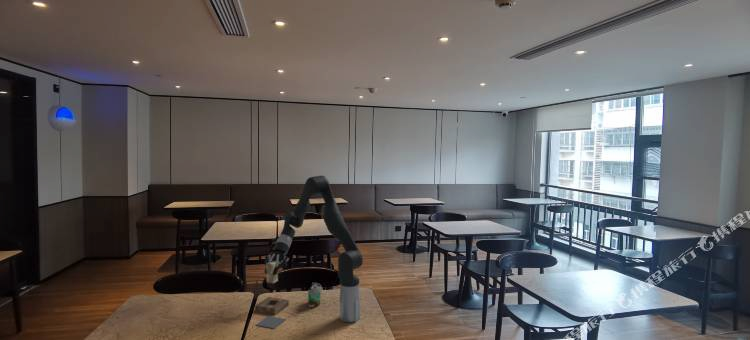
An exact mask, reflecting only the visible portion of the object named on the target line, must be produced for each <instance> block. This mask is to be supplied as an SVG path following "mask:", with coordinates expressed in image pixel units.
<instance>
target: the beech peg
mask: <svg viewBox="0 0 750 340" xmlns="http://www.w3.org/2000/svg"><path fill="white" fill-rule="evenodd" d="M276 264H277V262H275V261H270V262H268V263H266V265H265V269H266V271H267V274H265V276H266V283H268V284H275V283H276V282H279V273H278V272H277V274H276V275H273V274H272V273H273V271H274V268H275V267H276Z"/></svg>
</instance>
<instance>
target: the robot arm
mask: <svg viewBox="0 0 750 340" xmlns="http://www.w3.org/2000/svg"><path fill="white" fill-rule="evenodd" d="M319 194H321V196H322V198H323V202H324V208H323V214H322V215H323V216H322V217H323V218H322V219H323V221H324V225H325V226H326V228H327V230H328V232H329V233H330V234H331V235H332V236H333V237H334V238H335V239H336V240H338V241H339V242H340V244H341V245H342V247H343V249H344V251H343V252H341V253H340V254H339V256H338V259H337V270H338V279H339V320H340V321H341V322H344V323H356V322H358V321H359V319H361V306H362V305H361V301H362V300H361V298H360V278H359V277H358V276H357V275H354V270H356V269H358V268H361V267H362V265H363V254H361V251H360V248H359V246H357V244H356V242H355V240H354V239H353V237H352V235H351V232H350V231H349V229H348V227H347V223H346V222H345V220H344V217H343V214H342V213H341V211H340V208H339V207H338V204H337V201H336V199H335V196H334V194H333V191H332V188H331V185H330V182H329V180H328V178H327V177H326V176H325V175H316V176H311V177H308V178H307V179H306V180H305V183H304V185H303V188H302V191H301V194H300V197H299V199H298V201H297V202H296V204H295V206H294V207H293V209H292V211H289V212H287V213H286V214H285V216H284V223H283V228H282V229H281V230H282V231H281V232H280V235H279V236H278V238H277V240H276V242H275V245H274V246H273V249H272V252H271V253H270V254H268V253H267V254H265V256H264V261H263V262H264V265H265V266H266V263H268V262H270V261H275V262H277V264H276V267H275V268H274V271H273V273H272V274H273V275H276V274H277V272H278V271H279V270H280V269H284V268H285V266H286V265H287V263H288V262H290V258H289V257H288V256H286V255H287V254H288V252H289V249H290V247H291V244H292V241H293V239H294V237H295V235H296V230H295V229H299V228H301V227H302V226H303V224H304V219H305V216H306V214H307V212H309V209H310V207H311V201H310V199H311V197H312V196H314V195H319ZM264 274H265V275H266V274H267V271H266V268H265V269H264Z"/></svg>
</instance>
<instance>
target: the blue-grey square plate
mask: <svg viewBox="0 0 750 340" xmlns="http://www.w3.org/2000/svg"><path fill="white" fill-rule="evenodd" d="M286 321H287V319H286V318H283V317H282V318H281V317H276V316H272V315H268V316H265V318H264V319H262V320H260V321H259V322H258V323H256V324H255V326H256V325H257V326H256V327H261V326H263V327H262V328H266V327H267V328H266V329H272V330H275V329H276V328H278V327H279V326H280V325H281V324H283V323H284V322H286Z"/></svg>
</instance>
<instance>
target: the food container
mask: <svg viewBox="0 0 750 340" xmlns="http://www.w3.org/2000/svg"><path fill="white" fill-rule="evenodd" d="M322 291H323V288H322V285H321V283H318V282H312V284H311V286H310V288H309V289H308V290H307V296H308V297H307V298H308V309H315V308H318V307H319V306H320V304H321V294H322V293H321V292H322Z"/></svg>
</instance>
